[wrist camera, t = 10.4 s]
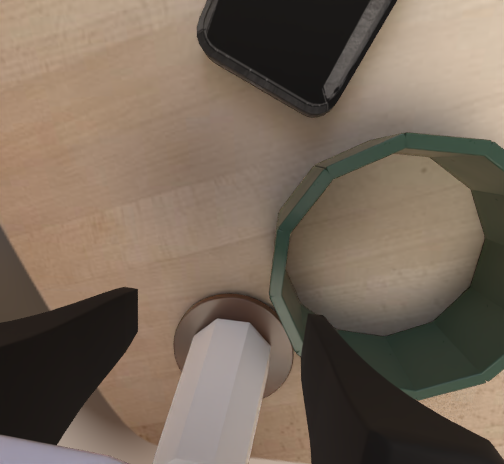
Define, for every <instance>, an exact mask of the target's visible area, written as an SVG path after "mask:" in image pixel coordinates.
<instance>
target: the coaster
mask: <svg viewBox="0 0 504 464" xmlns="http://www.w3.org/2000/svg"><path fill="white" fill-rule="evenodd" d="M216 319H226V320H233V321H241V322H249V323H250V324H251V325H252V326H253V327H254V328H255V329H256V330H257V331H258V332H259V334H260V335H261V336H262V337H263V338H264V339H265V340H266V341H267V342H268V343H269V345H270V346H271V349H270V358H269V367H268V375H267V380H266V384H265V389H264V394H263V398H265V397H267V396H269V395H270V394H272V393H273V392H275V391H276V390H277V389H278V388H279V387H280V386H281V385H282V384H283V383H284V382H285V380H286V378H287V377H288V375H289V373H290V370H291V367H292V363H293V347H292V345H291V342H290V340H289V338H288V336H287V334H286V332H285V330H284V327H283V325H282V323H281V321H280V319H279V317H278V315H277V313H276V312H275V311H274V310H273V309H271V308H270V307H269V306H267V305H266V304H264V303H263V302H261V301H259V300H257V299H254V298H251V297H248V296H245V295H240V294H220V295H214V296H211V297H208V298H205V299H203V300H201V301H199V302H198V303H196V304H195V305H194V306H192V307H191V308H190V309H189V310H188V311H187V312H186V314H185V315H184V316H183V318H182V319H181V321H180V323H179V324H178V327H177V329H176V332H175V336H174V354H175V359H176V362H177V364H178V366H179V369H180V370H181V372H182V371H183V368H184V365H185V362H186V358H187V355H188V352H189V349H190V346H191V343H192V340H193V337H194V335H196V334H197V333H198V332H200V331H201V330H202V329H204V328H205V327H206V326H208V325H209V324H210V323H212V322H213V321H214V320H216ZM263 398H262V399H263Z"/></svg>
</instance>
